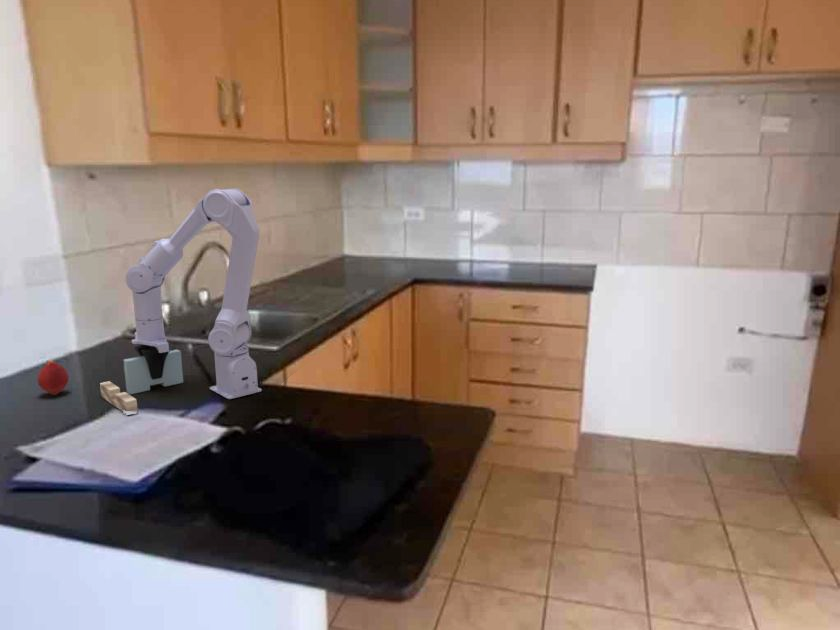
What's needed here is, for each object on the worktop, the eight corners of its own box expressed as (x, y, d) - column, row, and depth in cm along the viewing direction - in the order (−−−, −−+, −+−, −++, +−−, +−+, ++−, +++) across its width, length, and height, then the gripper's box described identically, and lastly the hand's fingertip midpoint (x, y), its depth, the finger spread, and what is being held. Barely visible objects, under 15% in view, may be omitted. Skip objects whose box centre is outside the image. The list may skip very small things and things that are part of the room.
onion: (63, 388, 144) (59, 354, 143) (74, 394, 141) (70, 359, 139) (35, 395, 140) (30, 360, 138) (46, 401, 136) (41, 365, 135)
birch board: (137, 413, 129) (136, 399, 129) (127, 416, 128) (126, 402, 127) (110, 394, 141) (109, 381, 140) (101, 396, 139) (99, 383, 139)
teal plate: (183, 382, 148) (180, 351, 147) (129, 394, 140) (126, 361, 139) (179, 380, 150) (177, 349, 148) (126, 392, 142) (123, 359, 140)
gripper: (118, 315, 144) (124, 373, 147) (143, 326, 134) (149, 388, 137) (150, 311, 149) (155, 367, 152) (176, 321, 139) (181, 381, 142)
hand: (154, 377), depth 145 cm, fingers closed on teal plate, 2 cm apart
